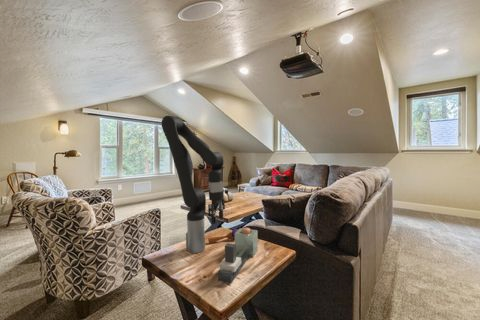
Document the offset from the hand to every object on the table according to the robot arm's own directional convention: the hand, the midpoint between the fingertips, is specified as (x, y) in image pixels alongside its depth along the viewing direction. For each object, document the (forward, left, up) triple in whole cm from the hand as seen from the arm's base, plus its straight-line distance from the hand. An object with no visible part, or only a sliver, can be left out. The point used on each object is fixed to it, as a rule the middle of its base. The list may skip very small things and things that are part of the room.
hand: (217, 221), depth 114 cm
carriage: (+14, -15, -15) cm, 25 cm away
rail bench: (+14, -6, -17) cm, 23 cm away
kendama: (-3, +16, -18) cm, 24 cm away
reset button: (+14, +6, -9) cm, 17 cm away
